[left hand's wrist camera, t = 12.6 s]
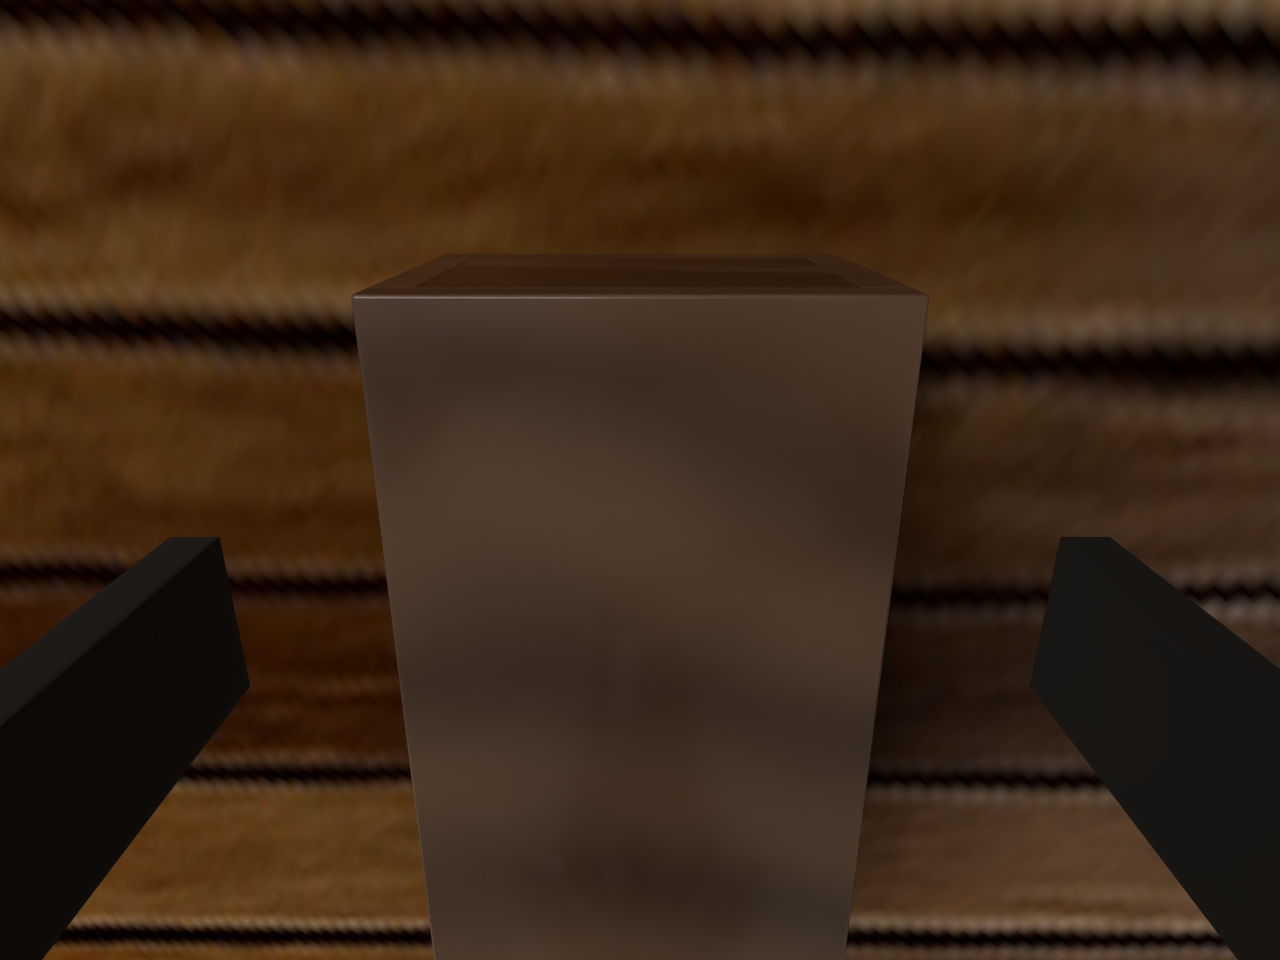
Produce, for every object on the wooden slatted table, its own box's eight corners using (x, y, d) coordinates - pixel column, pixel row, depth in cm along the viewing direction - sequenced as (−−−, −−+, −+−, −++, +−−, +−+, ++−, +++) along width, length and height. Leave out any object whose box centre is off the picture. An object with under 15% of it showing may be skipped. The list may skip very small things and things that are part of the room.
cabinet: (790, 791, 31) (840, 998, 23) (488, 791, 31) (437, 998, 23) (836, 254, 24) (931, 294, 16) (443, 253, 24) (349, 294, 16)
